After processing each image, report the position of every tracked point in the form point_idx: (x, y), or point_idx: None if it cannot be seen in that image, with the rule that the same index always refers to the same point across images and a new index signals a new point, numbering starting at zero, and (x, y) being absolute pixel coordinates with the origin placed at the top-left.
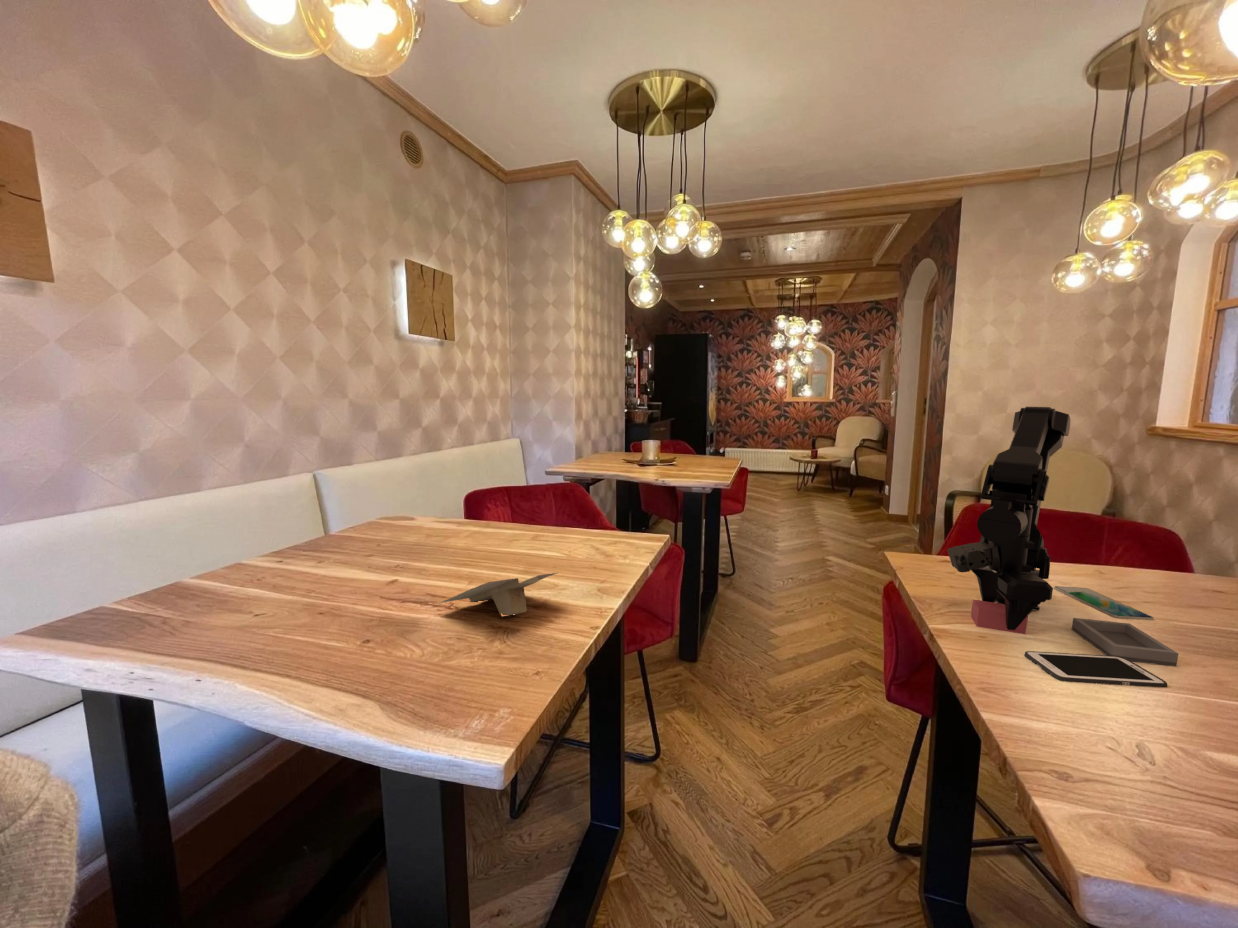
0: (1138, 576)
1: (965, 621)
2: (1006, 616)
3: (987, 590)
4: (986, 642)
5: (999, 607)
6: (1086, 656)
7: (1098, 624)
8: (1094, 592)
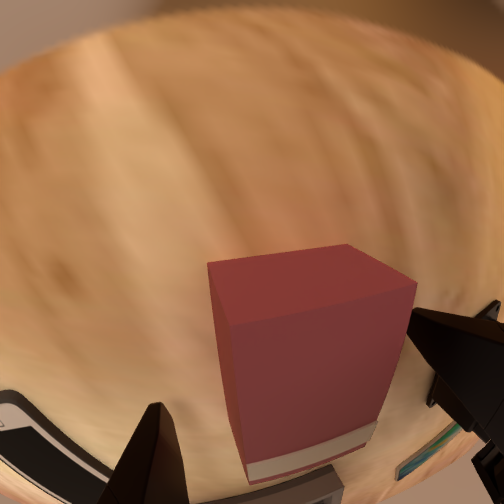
0: None
1: (258, 208)
2: (139, 454)
3: (472, 360)
4: (14, 289)
5: (323, 413)
6: None
7: (328, 499)
8: None
